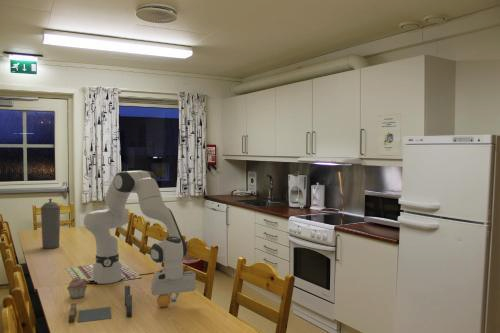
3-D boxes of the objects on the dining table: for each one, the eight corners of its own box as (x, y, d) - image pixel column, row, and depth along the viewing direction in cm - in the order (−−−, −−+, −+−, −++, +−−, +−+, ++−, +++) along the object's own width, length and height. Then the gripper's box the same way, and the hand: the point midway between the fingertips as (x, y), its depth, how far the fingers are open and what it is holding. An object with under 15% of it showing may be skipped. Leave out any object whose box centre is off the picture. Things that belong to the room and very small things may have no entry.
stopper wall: (71, 310, 187) (71, 303, 187) (76, 309, 188) (76, 303, 187) (68, 323, 174) (68, 315, 174) (74, 322, 174) (73, 315, 174)
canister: (57, 244, 311) (57, 197, 309) (62, 247, 301) (62, 199, 300) (39, 246, 303) (38, 198, 301) (43, 250, 293) (43, 200, 292)
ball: (157, 305, 194) (155, 293, 194) (170, 302, 196) (168, 290, 195) (158, 310, 189) (156, 298, 188) (171, 307, 190) (170, 294, 190)
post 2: (126, 315, 182) (125, 295, 181) (131, 314, 183) (131, 294, 182) (126, 317, 180) (126, 297, 179) (132, 316, 180) (132, 296, 180)
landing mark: (79, 310, 187) (79, 310, 187) (110, 307, 191) (110, 306, 191) (77, 322, 174) (77, 321, 174) (110, 318, 179) (110, 318, 179)
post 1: (124, 304, 194) (124, 285, 194) (130, 304, 195) (130, 285, 194) (124, 306, 192) (124, 287, 191) (130, 306, 193) (130, 286, 192)
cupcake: (91, 296, 205) (91, 276, 204) (72, 301, 198) (72, 280, 197) (82, 291, 211) (81, 272, 210) (63, 296, 204) (63, 276, 203)
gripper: (194, 268, 200) (194, 297, 201) (150, 272, 193) (150, 302, 194) (197, 272, 194) (197, 301, 195) (152, 276, 187) (152, 307, 188)
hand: (173, 302), depth 194 cm, fingers closed
